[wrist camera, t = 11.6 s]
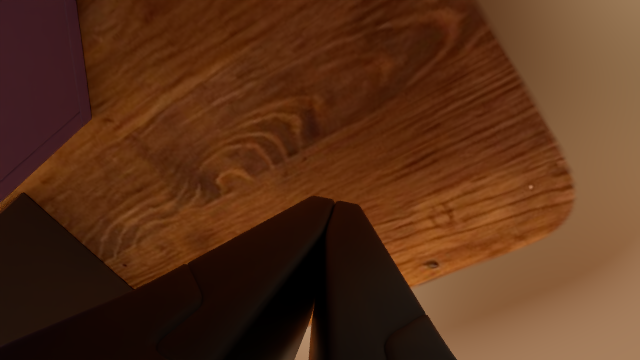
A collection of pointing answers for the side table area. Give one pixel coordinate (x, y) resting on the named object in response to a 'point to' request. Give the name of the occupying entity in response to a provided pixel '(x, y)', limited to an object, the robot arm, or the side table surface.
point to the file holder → (38, 85)
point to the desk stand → (46, 272)
